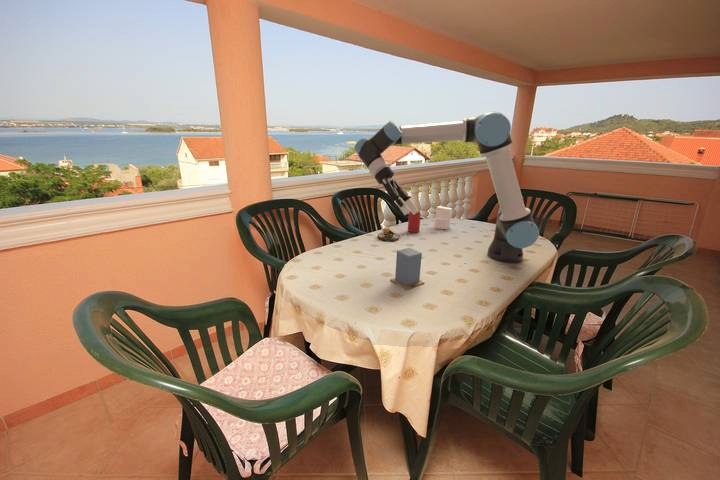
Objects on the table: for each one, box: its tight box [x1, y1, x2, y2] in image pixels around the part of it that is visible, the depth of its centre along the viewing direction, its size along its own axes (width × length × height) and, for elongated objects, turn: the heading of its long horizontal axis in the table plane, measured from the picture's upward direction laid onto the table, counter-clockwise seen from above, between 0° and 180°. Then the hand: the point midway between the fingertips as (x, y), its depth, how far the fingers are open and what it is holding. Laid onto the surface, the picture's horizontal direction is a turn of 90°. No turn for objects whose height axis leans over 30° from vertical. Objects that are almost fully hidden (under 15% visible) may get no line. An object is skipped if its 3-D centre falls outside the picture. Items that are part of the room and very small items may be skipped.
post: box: [389, 277, 425, 291], centre depth 119 cm, size 9×9×8 cm
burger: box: [377, 226, 401, 242], centre depth 168 cm, size 12×12×8 cm
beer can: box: [407, 210, 422, 234], centre depth 180 cm, size 7×7×12 cm
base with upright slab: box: [434, 205, 453, 230], centre depth 188 cm, size 9×9×12 cm
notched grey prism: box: [394, 247, 423, 286], centre depth 118 cm, size 6×6×12 cm
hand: (412, 213), depth 126 cm, fingers open, 13 cm apart
